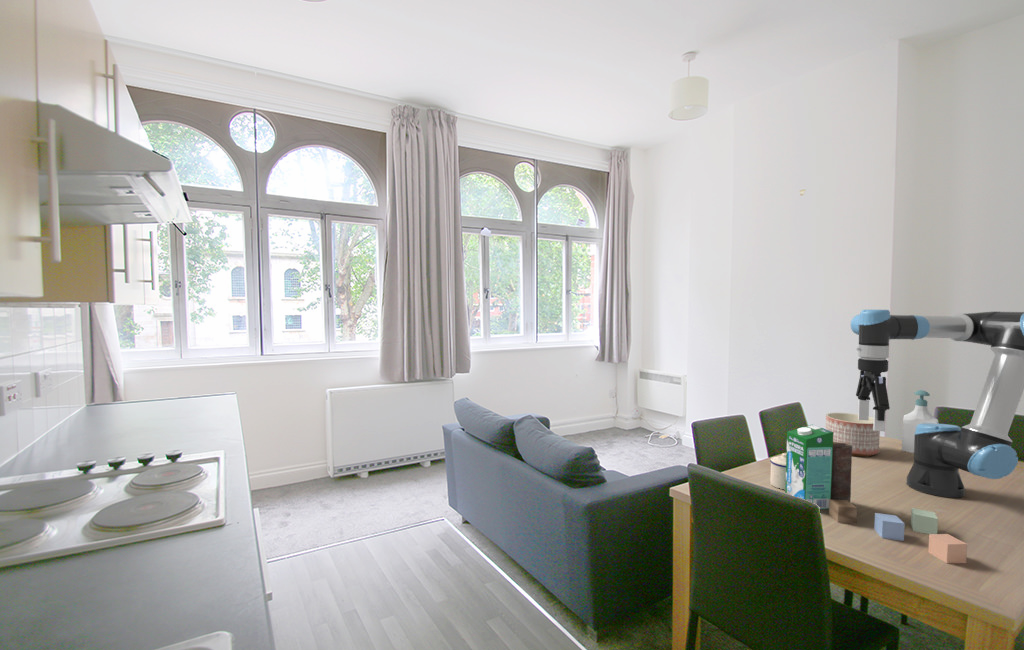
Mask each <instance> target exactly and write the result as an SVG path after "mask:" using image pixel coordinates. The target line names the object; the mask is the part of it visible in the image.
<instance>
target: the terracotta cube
mask: <svg viewBox="0 0 1024 650" xmlns="http://www.w3.org/2000/svg"><path fill="white" fill-rule="evenodd" d="M928 535H929V536H928V554H930V555H932V556H934V557H935V558H938V559H939V560H940V561H942V562H944V563H946V564H967V553H968V544H967V543H966V542H964V541H962V540H960V539H959V538H956V537H954V536H952V535H951V534H948V533H937V534H928Z"/></svg>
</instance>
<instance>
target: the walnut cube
mask: <svg viewBox="0 0 1024 650" xmlns="http://www.w3.org/2000/svg"><path fill="white" fill-rule="evenodd" d="M857 512H858V507H857V506H855V505H854V504H853V503H852V502H851V501H850V502H849V501H848V500H834V499H830V501H829V509H828V515H829V517H831V518H832V519H833V520H834V521H835V522H837V523H838V524H839V523H843V524H856V525H857V515H858V514H857Z"/></svg>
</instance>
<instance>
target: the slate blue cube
mask: <svg viewBox="0 0 1024 650" xmlns="http://www.w3.org/2000/svg"><path fill="white" fill-rule="evenodd" d="M905 524H906V523H905V522H904V521H902V519H901V518H900V517H898V516H897V515H894V514H885V513H880V512H879V513H877V512H875V513H874V531H875V532H876V533H877V534H878V536H879V537H880V538H882V539H888V540H892V541H893V540H894V541H902V542H904V541H905V527H906V525H905Z"/></svg>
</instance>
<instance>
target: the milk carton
mask: <svg viewBox="0 0 1024 650" xmlns="http://www.w3.org/2000/svg"><path fill="white" fill-rule="evenodd" d="M832 456H833V432H832V431H829V430H826V428H823V427H821V426H818V425H815V424H809V425H805V426H801V427H799V428H796V429H795V428H794V429H792V430H788V431H787V432H786V484H785V490H784V491H785V492H784V494H785V493H787V494H790V495H792V496H795V497H799V498H802V499H805V500H807V501H810V502H812V503H815V504H817V505H818V506H819V507H820V509H819V510H829V501H830V499H831V481H832Z"/></svg>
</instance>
